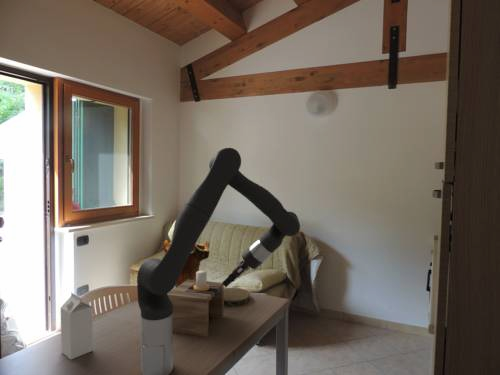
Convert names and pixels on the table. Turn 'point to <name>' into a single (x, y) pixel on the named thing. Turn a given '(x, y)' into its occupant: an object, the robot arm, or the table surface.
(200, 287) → the cylinder with orange collar
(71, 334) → the milk carton
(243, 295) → the wood slice
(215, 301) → the wooden slotted block
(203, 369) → the table surface
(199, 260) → the decorative vase
